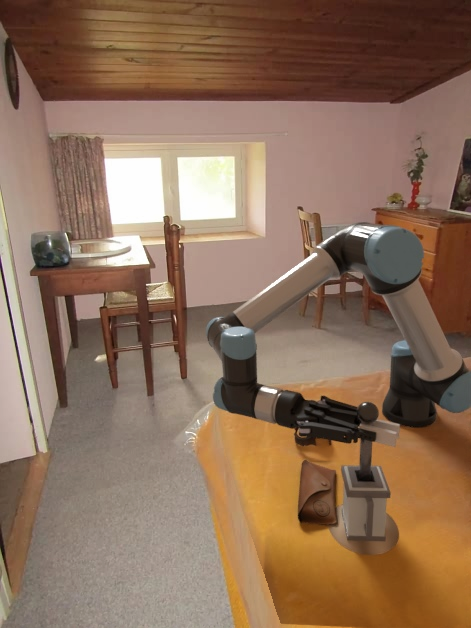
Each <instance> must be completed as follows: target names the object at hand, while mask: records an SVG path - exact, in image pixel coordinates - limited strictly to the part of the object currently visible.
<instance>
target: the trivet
mask: <svg viewBox="0 0 471 628" xmlns="http://www.w3.org/2000/svg"><path fill="white" fill-rule="evenodd" d="M335 509H336V515H337V523H336V524H333V525H327V526H328V530H329V533H330V535H331V536H332V538H333V539H334V540H335V541H336V542H337V543H338V544H339V545H340V546H342V547H343V548H345V549H347V550H349V551H351V552H354V553H355V554H358V555H359V554H360V555H363V556H364V555H366V556H376V555H382V554H385V553H388V552H389V551H391V550H392V549H393V548H394V547H395V546H396V545H397V543H398V541H399V538H400V532H399V531H400V530H399V527H398V525H397V523H396V520H394V519H393V517H392V516H391V515H390V514H389V513H387V512H386V520H385V537H386V541H352V540H347V537H346V532H345V527H344V522H343V517H342V509H343V503H342V504H340V505H337V506H335Z"/></svg>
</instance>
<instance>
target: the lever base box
mask: <svg viewBox="0 0 471 628" xmlns="http://www.w3.org/2000/svg"><path fill="white" fill-rule="evenodd" d="M340 467H341V468H340V472H341V476H342V482H343V488H342V489H343V491H342V492H343V493H342V504H343V509H342V517H343V522H344V527H345V532H346V537H347V540H352V541H386V537H385V520H386V513H387V500H388V499H391V496H392V495H391V491H390V487H389V485H388V484H389V483H388V482H387V479H386V476H385V472H384V470H383V468H382V466H381V465H371V480H370V482H359V465H354V464H353V465H349V464H348V465H346V464H345V465H340Z"/></svg>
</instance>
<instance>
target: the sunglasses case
mask: <svg viewBox="0 0 471 628" xmlns="http://www.w3.org/2000/svg"><path fill="white" fill-rule="evenodd" d="M300 467H301V469H300V475H299V476H300V478H299V489H298V502H297V503H298V504H297V518H298V521H299V522H300V523H301V524H307V525H308V524H310V525H318V526H320V525H321V526H328V525H333V524H336V523H337V515H336V509H335V508H336V499H335V498H336V497H335V496H336V495H335V486H336V485H335V484H336V482H335V481H336V473H337V471H336V469H330V468H328V467H325V466H321V465H320V464H316V463H314V462H311V461H309V460H308V459H304V460H303V461H302V463H301V466H300Z"/></svg>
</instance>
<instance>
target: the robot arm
mask: <svg viewBox="0 0 471 628" xmlns="http://www.w3.org/2000/svg"><path fill="white" fill-rule="evenodd" d="M424 258H425V252H424V246H423V243H422V242H421V240H420V238H419V237H418V236H417V235H416V234H415V233H414V232H413V231H411V230H409V229H407V228H403V227H402V226H398V225H393V224H391V225H389V224H387V225H386V224H379V223H372V222H371V223H370V222H367V221H365V222H362V221H361V222H356V223H355V222H354V223H352V224H350V225H349V224H348V225H346V226H345V227H343V228H341V229H340V230H338V231H336V232H335V233H332V234H331V235H330V236H328V237H327V238H326V239H323V240H322V241H321V242H319V243H318V244H317V245H316V246H315V247H314V248H313V252H312V254H310V255H309V256H307V257H306V258H304V260H301V262H299V263H298V264H297V265H295V266H294V267H293V268H291V269H289V271H287V272H285V273H284V274H283V275H281V276H279V278H277V279H276V280H275V281H273V282H272V283H270V284H269V285H268V286H266V287H265V288H264V289H262V290H260V292H257V294H256V295H254V296H253V297H251V298H249V299H248V300H247V301H245V302H244V303H242V304H241V305H240V306H238V307H237V308H236V309H235V310H233V311H232V312H231V313H229V314H228V315H226V316H217V317H214V318H212V319H211V320H210V321H209V322H208V323H207V325H206V328H205V336H206V340H207V341H208V344H209V346H210V347H211V348H212V350H214V352H215V354H216V355H217V357H218V358H219V360H220V361H221V366H222V376H221V377H219V378H218V380H217V381H216V382H215V384H214V387H213V393H212V400H213V404H214V405H215V407H216V408H218V409H220V410H222V411H226V412H228V413H229V414H236V415H240V416H244V417H247V418H249V417H250V418H251V419H255V420H258V421H263V422H266V423H269V424H273V425H276V424H277V425H278V426H280V427H284V428H286V429H287V428H288V429H291V430H294V428H296V427H299V429H298V436H299V437H316V438H315V439H318V438H320V439H322V440H327V441H328V440H331V442H332V441H333V442H338V443H343V444H348V445H350V444H352V443H353V444H357V443H358V441H359V440H360V439H364V440H367V441H371V442H372V443H378V444H381V445H385V446H388V447H389V446H390V447H393V448H396V446H397V439H399V438H400V431H401V426H402V427H406V428H415V429H416V428H417V429H418V428H425V427H429V426H431V425H433V424H435V422H436V420H437V416H438V415H437V414H438V413H437V411H438V410H437V408H436V405H437V406H439V407H440V408H441V409H442V410H446V411H448V412H449V413H452V414H459V413H460V414H461V413H463V412H466V411H467V410H469V409H470V408H471V370H470V369H469V368H468V367H467V365H466V362H465V361H464V359H463V356H462V355H461V353H460V352H459V351H457V350H456V349H454V348H451V346H450V345H449V342H448V340H447V339H446V336H445V334H444V332H443V329H442V327H441V325H440V323H439V321H438V319H437V316H436V314H435V312H434V310H433V309H432V305H431V304H430V301H429V299H428V296H426V293H425V291H424V288H423V287H422V284H421V282H420V278H421V275H422V274H423V269H422V266H423V264H424V262H423V261H422V260H423V259H424ZM349 272H358V273H361V274H362V275H363V276H364V279H365V280H366V282H367V284H368V286H369V287H370V289H371V292H372V293H373V294H375V295H378V296H381V297H382V298H383V300H384V302H385V304H386V306H387V307H388V310H389V312H390V313H391V315H392V317H393V319H394V321H395V323H396V325H397V327H398V329H399V331H400V333H401V335H402V337H403V340H399V341H397V342H395V343H394V344H393V346H392V348H391V354H390V371H389V372H390V375H389V389H388V391H387V393H386V396H385V397H384V400H383V402H382V405H381V407H382V408H381V413H382V415H383V416H384V417H385V419H386V420H384V419H380V418H377V420H376V421H375V422H373V426H370V425H365V424H361V421H360V420H359V418H358V416H357V408H358V406H356V405H352V404H348V403H345V402H341V401H339V400H335V399H331V398H330V397H328V396H326V395H321V396H320V400H314V399H305V398H304V396H303V395H302V393H301V392H298V391H294V390H293V391H292V390H288V389H283V388H280V387H275V386H271V385H266V384H262V383H259V382H258V364H257V363H258V361H257V360H258V358H257V355H258V354H257V350H258V345H257V340H256V333H257V332H259V331H260V330H262V329H263V328H264V327H266V326H267V325H268V324H270V323H271V322H273V321H274V320H275V319H277V318H278V317H279V316H280V315H282V314H283V313H285V312H286V311H288V310H289V309H290V308H291V307H293V306H295V305H296V304H297V303H299V302H300V301H302V300H303V299H304V298H305V297H307V296H308V295H310V294H311V293H312V292H313V291H315V290H316V289H318V288H319V287H321V286H322V285H323V284H325V283H327V281H329V280H330V279H339V278H340V277H341V276H343V275H344V274H346V273H349ZM387 420H388V421H387ZM310 429H311V430H310Z"/></svg>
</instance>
